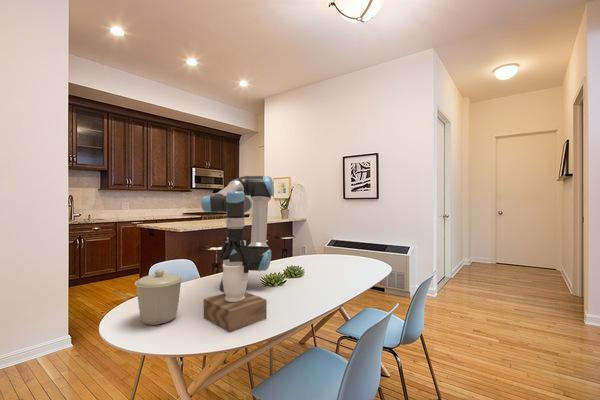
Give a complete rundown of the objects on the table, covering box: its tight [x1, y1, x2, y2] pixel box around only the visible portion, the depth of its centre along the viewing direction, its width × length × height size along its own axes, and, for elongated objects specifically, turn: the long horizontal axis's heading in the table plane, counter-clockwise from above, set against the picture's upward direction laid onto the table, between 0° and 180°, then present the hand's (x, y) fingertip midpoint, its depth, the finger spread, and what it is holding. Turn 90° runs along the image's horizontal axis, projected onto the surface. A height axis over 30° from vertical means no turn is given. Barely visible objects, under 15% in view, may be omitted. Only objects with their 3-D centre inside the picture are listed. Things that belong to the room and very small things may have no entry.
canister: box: [134, 268, 184, 326], centre depth 123 cm, size 18×18×21 cm
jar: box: [221, 262, 248, 302], centre depth 125 cm, size 11×10×15 cm
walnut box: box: [203, 291, 268, 333], centre depth 125 cm, size 20×18×8 cm
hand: (235, 277), depth 125 cm, fingers open, 13 cm apart
